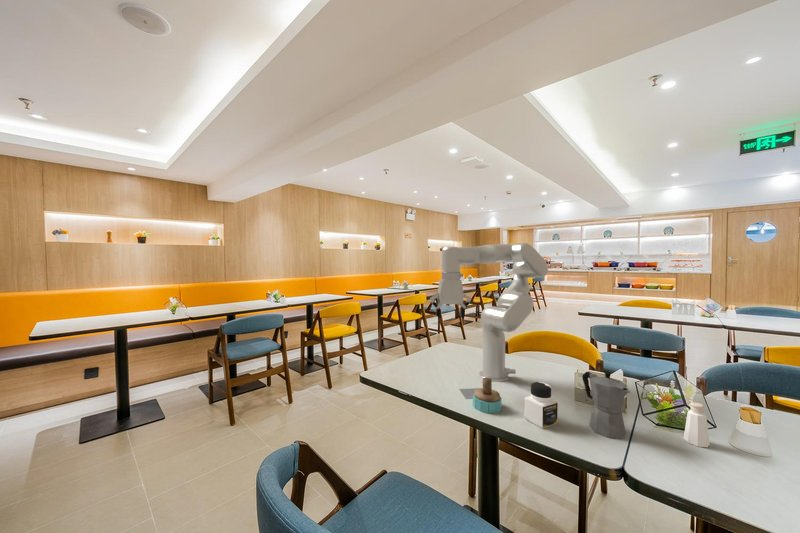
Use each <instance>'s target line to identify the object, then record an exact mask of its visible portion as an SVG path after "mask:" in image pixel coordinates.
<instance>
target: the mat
mask: <svg viewBox="0 0 800 533" xmlns="http://www.w3.org/2000/svg"><path fill="white" fill-rule="evenodd" d="M477 389H481V387H477V388H476V387H475V388H474V387H473V388H459V391H460V393H461V395H463V397H464V399H466V400H470V399H471V400H473V394H474V393H475V390H477Z"/></svg>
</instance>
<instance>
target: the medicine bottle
mask: <svg viewBox="0 0 800 533" xmlns="http://www.w3.org/2000/svg"><path fill="white" fill-rule="evenodd" d="M558 403H559V402H558V401H557V400H555V399H553V398H552V387H551V385H550V384H548V383H546V382H541V381H535V382H532V383H531V384H530V395H528V396H525V397H524V414H523V415H524V416H523V417H524V419H525V420H526V421H528V422H530V423H531V424H534V425H535V426H537V427H539V428H541V429H547V428H549V427H552V426H554V425H556V424H558V420H559V419H558V414H559V413H558V412H559V410H558V408H559V407H558Z"/></svg>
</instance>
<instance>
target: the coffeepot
mask: <svg viewBox="0 0 800 533" xmlns="http://www.w3.org/2000/svg"><path fill="white" fill-rule="evenodd" d="M611 375H612V373H611V372H610V371H604V376H600V375H599V376H598V374H595V373H592V372H590V371H585V372H584V373H583V374H582V376H581V377H582V382H583V386H584V388H585V392H586V397H587V398H589V399H591V400H592V401H593V402H594V405H593V407H592V411H591V415H590V422H589V425H588V426H589V428H590V429H591V430H592V431H593V432H594V433H596V434H598V435H600V436H602V437H605V438H610V439H617V440H619V439H623V438H624V437H625V436H626V435H627V433H626V428H625V427H626V426H625V421H624V417H623V412H622V407H623V405H624V401H625V397H626V396H627V394H630V393H631V390H630V389H629V388H628V387H627V386H628V384H627V383H625V382H623V381H621V380H620V379H616V378H612V377H611Z"/></svg>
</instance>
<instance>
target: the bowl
mask: <svg viewBox="0 0 800 533" xmlns="http://www.w3.org/2000/svg"><path fill="white" fill-rule="evenodd" d="M502 403H503V400H502V396H500V399H499V400H498V401H496V402H484V401H481V400H479V399H477V398H476V397H475V393H474V394H473V399H472V407H473V408H474V409H475V410H477V411H478V412H480V413H485V414H497V413H500V412H501V411H502V406H503V405H502Z"/></svg>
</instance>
